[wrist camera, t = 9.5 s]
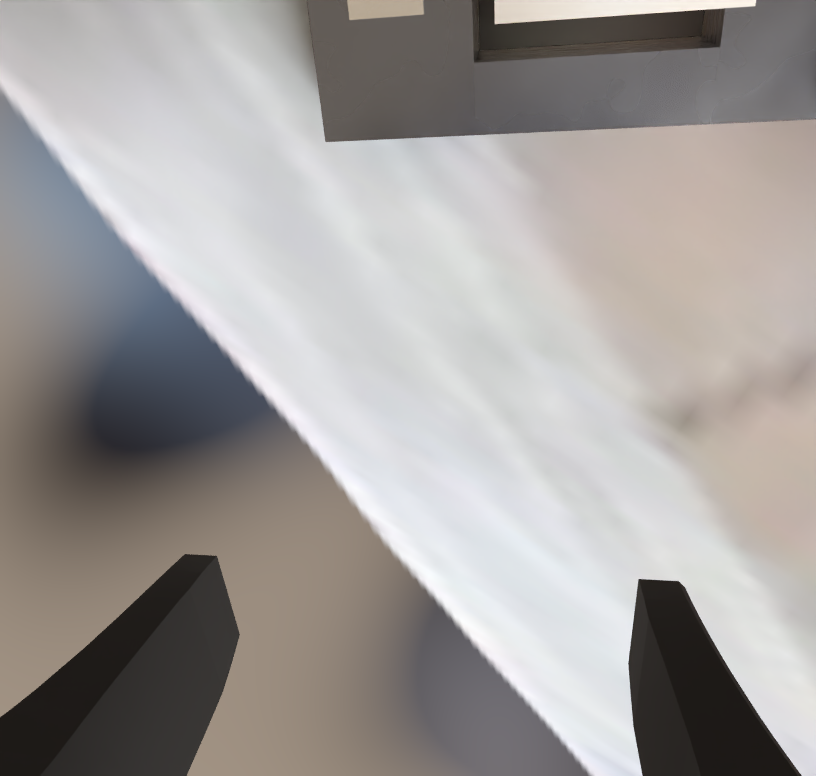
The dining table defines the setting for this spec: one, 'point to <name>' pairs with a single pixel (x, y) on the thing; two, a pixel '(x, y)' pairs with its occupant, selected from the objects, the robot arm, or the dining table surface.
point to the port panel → (552, 73)
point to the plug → (599, 8)
